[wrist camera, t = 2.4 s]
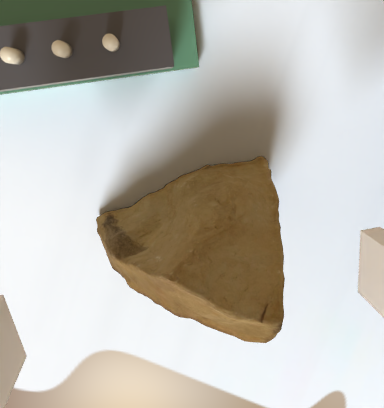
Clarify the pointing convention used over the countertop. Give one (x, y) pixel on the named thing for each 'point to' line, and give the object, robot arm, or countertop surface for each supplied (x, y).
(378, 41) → the countertop surface
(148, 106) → the countertop surface
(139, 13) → the socket board
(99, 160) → the countertop surface
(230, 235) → the rock
